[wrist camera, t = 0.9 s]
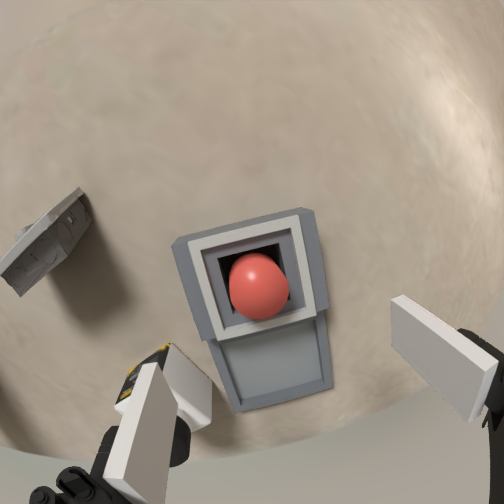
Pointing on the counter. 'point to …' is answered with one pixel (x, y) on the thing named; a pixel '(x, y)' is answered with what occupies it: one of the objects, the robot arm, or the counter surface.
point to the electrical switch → (45, 243)
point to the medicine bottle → (177, 396)
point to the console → (269, 329)
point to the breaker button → (257, 286)
